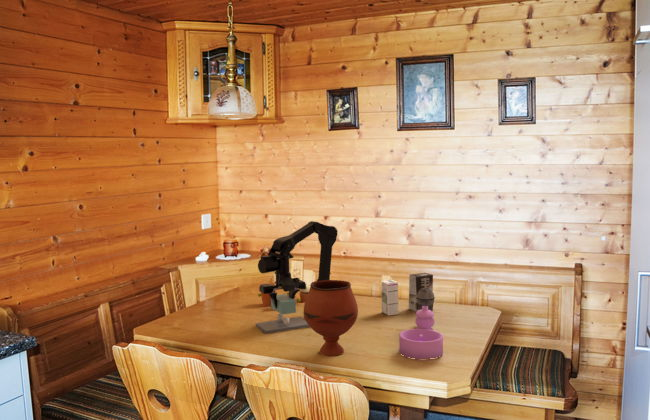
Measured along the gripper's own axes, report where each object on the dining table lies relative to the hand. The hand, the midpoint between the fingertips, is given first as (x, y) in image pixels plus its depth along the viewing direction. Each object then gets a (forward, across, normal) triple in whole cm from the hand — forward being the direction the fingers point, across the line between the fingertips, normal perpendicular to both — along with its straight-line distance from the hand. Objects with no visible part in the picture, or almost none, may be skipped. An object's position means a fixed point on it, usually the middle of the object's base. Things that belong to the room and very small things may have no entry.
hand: (283, 307), depth 236 cm
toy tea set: (+9, +15, +34) cm, 38 cm away
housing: (+1, 0, 0) cm, 1 cm away
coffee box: (+8, +65, -6) cm, 66 cm away
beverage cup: (+8, +52, -27) cm, 59 cm away
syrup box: (+8, +49, -5) cm, 50 cm away
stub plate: (+8, 0, 0) cm, 8 cm away
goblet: (+8, +3, -37) cm, 38 cm away
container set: (+8, +34, -49) cm, 60 cm away
